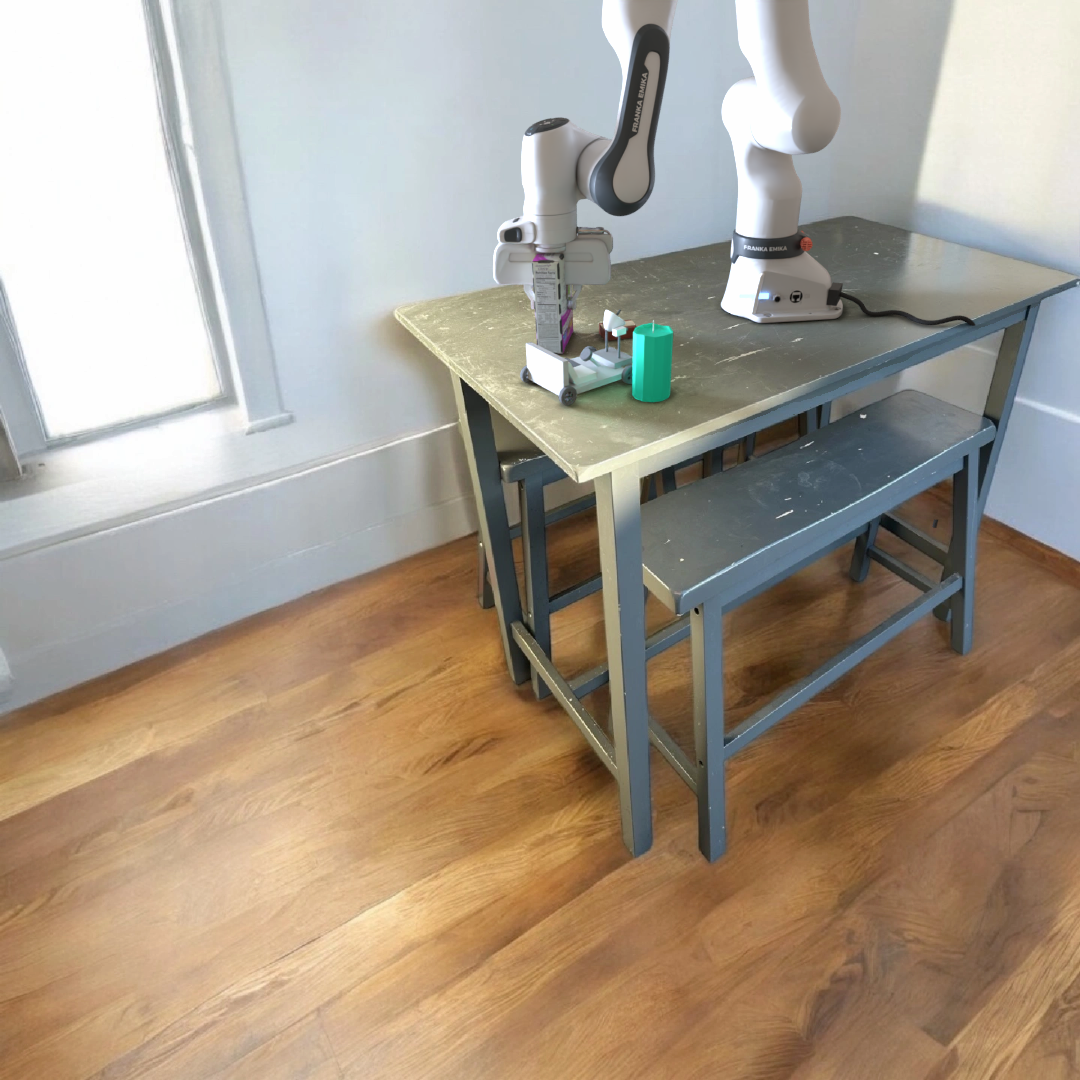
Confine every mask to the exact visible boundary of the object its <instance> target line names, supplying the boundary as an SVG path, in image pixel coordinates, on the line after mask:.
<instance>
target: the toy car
mask: <svg viewBox="0 0 1080 1080" xmlns="http://www.w3.org/2000/svg"><path fill="white" fill-rule="evenodd" d="M621 312H622V309H621V308H619V309H618V310H617V312H616V313H615V312H613V311H611V310H609V309H605V311H604V315H603V323H604V328H605V330H606V341H604V343H605V348H602V349H599V350H597V348H596V347H594V346H592V345H587V346H585V347H584V348H583V350H582V351H581V352H580V354H579V356H576V357H573V358H569V357H562V356H561V355H559V354H554V353H552V352H550V351H548V350H546V349H545V348H543V347H541V346H539V345H537V343H535V342H533V341H528V342H526V343H525V351H526V352H525V353H526V365H525V366H523V367H522V368H521V370H520V373H519V378H520V380H521V382H523V383H525V384H532V383H535V384H537V385H538V386H540V387H542V388H544V389H546V390H548V391H549V392H551V393H553V394H555V395H556V396H558V401H559V403H561V404H562V405H564V406H567V407H568V406H572V404H573V403H574V402H575V401H576V400H577V396H578V395H580V394H582V393H584V392H588V391H590V390H593V389H597V388H600V387H603V386H605V385H608V384H612V383H614V382H617V381H620V380H621V381H622V382H623V383H625V384H627V385H632V369H633V355H630V354H628V353H626V352H623V351H621V342H622V341H621V340H622V339H621V335H624V334H626V331H628V327H623V325H625V324H626V323H625V322H624V321H623V320H624V319H623V318H621V316H619V315H620V313H621ZM608 331H609V332H610V331H613V335H614V336H616V337H617V336H618V340H617V349H616V348H615V347H612V346H609V341H608Z"/></svg>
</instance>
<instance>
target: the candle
mask: <svg viewBox="0 0 1080 1080" xmlns="http://www.w3.org/2000/svg"><path fill="white" fill-rule="evenodd" d="M673 345H674V330H673V329H672V326H670V325H665V324H664V325H663V324H659V323H655V319H653V320H652V322H648V323H643V324H640V325H638V326H637V327H636V328H635V329H634V332H633V338H632V357H633V363H632V365H633V369H632V384H631V396H632V397H633V398H634V399H635V400H637V401H640V402H644V403H658V402H663V401H665V400H668V399H669V398H670V396H671V392H672V391H671V389H672V369H673V367H672V366H673V349H674V348H673V347H674V346H673Z"/></svg>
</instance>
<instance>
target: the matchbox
mask: <svg viewBox="0 0 1080 1080" xmlns="http://www.w3.org/2000/svg"><path fill="white" fill-rule="evenodd" d="M622 320H623V321H624V322H625V323H626V324H625V325H623V327H628V331H626V334H624V335H621V340H625V339H633V332H634V329H635V328H636V327H638V326H637V325H636V323H635V322H634V320H632V319H622ZM598 334H599V336H600V337H601V339H603V341H604V342H605V341H606V330H605V328H604V322H599V323H598ZM609 341H618V336H617V337H616V336H614V335H613V331H610V332H609V331H608V342H609Z"/></svg>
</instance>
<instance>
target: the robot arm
mask: <svg viewBox="0 0 1080 1080" xmlns="http://www.w3.org/2000/svg"><path fill="white" fill-rule="evenodd" d="M678 1H679V0H602V10H601V26H602V30H603V33H604V36H605V37H606V39H607V41H608V43H609V45H610V46H611V47H612V48H613V50H614V52H615V53H616V56H617V58H618V60H619V63H620V67H621V72H622V86H621V92H620V99H619V104H618V110H617V115H616V119H615V120H616V121H615V125H614V132H613V136H612V138H608V137H605V136H602V135H598V134H595V133H592V132H590V131H588V130H585V129H584V128H581V127H580V126H578V125H576V124H574V123H573V122H572V121H571V120H570V119H569V118H567V117H550V118H545V119H542V120H539V121H536V122H535V123H532V124H531V125H530V126H529V127H528V128H527V129H526V130H525V132H524V134H523V138H522V144H521V183H522V187H523V191H524V203H523V215H520V216H517V217H514V218H511V219H508V220H506V221H504V222H503V223H501V225H500V226H499V228H498V230H497V240H498V243H497V245H496V247H495V249H494V252H493V263H492V264H493V265H492V273H493V280H494V281H495V282H496V284H498V285H518V286H519V285H520V286H521V285H523V291H524V294H525V295H526V296H527V298H528V299H529V301H530V308H531V310H535V304H534V290H533V272H532V260H533V259H534V257H535V256H536V254H542V253H562V254H564V271H565V285H572V291H574V293H573V294H572V297H568V299H567V309H570V310H576V309H577V299H578V297H579V295H580V294H581V292H582V290H583V286H586V285H587V286H606V285H607V284H608V283H609V282H610V280H611V278H612V259H611V253H612V252H613V248H614V236H613V234H612V233H611V231H610V230H607V229H605V227H603V226H596V227H590V226H578V204H579V203H578V202H580V201H582V200H588V201H590V202H592V203H594V204H596V206H598V207H599V208H600V209H602V211H603V212H605V213H607V214H608V215H611V216H614V217H626V216H630V215H632V214H635V213H636V212H638V211H639V210H640V209H641V208H643V206H645V204H646V203H647V202H648V200H649V199H650V197H651V195H652V193H653V191H654V187H655V182H656V167H655V165H656V163H655V142H656V136H657V132H658V125H659V120H660V114H661V110H662V104H663V99H664V93H665V88H666V82H667V76H668V71H669V63H670V50H671V35H672V29H673V24H674V20H675V19H674V18H675V14H676V9H677V6H678V3H679V2H678ZM734 2H735V12H736V13H735V14H736V25H737V27H736V28H737V38H738V45H739V48H740V50H741V52H742V54H743V56H745V58H746V59H747V61H748V63H749V65H750V67H751V70H752V73H753V75H752V76H749V77H744V78H742V79H740V80H738V81H736V82H735V83H734V84H733V85H731V86H730V88H729V89H728V90H727V92H726V94H725V96H724V99H723V101H722V106H721V119H722V122H723V125H724V127H725V128H726V131H727V133H728V134H729V137H730V139H731V144H732V149H733V154H734V155H733V156H734V161H735V166H736V167H735V168H736V174H737V186H738V187H737V188H738V190H737V191H738V192H737V206H736V208H737V209H736V222H735V228H734V229H733V232H732V237H731V245H730V261H731V266H730V272H729V276H728V280H727V284H726V288H725V291H724V295H723V298H722V299H721V301H720V307H721V308H722V309H723V310H724V311H725V312H727V313H730V314H731V315H734V316H738V317H741V318H745V319H749V320H751V321H752V322H755V323H759V324H771V323H786V322H787V323H788V322H804V321H818V320H819V321H820V320H835V319H837V318H839V317H841V316H842V314H843V311H844V305H843V301H842V300H841V298H843V299H845V300H848V301H850V302H852V303H854V304H856V305H858V307H859V308H860V310H861V312H862V313H863V314H864V315H866V316H869V317H872V318H873V317H874V318H877V317H885V316H886V317H887V316H898V317H903V318H906V319H908V320H909V321H911V322H913V323H915V324H919V325H923V326H938V325H939V326H940V325H944V324H947V323H950V322H957V321H960V322H961V321H962V322H964V323H966V324H967V325H968V326H971V327H975V326H976V323H975V322H974V321H973V319H971V318H970V317H968V316H966V315H952V316H948V317H944V318H939V319H933V320H928V319H923V318H919V317H916V316H915V315H913V314H911V313H909V312H907V311H903V310H897V309H889V310H888V309H887V310H881V311H871V310H869V309H868V308H867V307H866V305H865V303H864V302H863V301H862V300H861V299H859V298H858V297H855V296H853V295H851V294H848V293H846V292H843V283H842V282H834V281H832V277H831V274H830V273H829V271H828V270H827V268H826V267H825V266H824V265H822V264H821V263H820V262H818V261H817V260H816V259H815V258H814V257H813V256H811V255H810V254H809V253H808V252H809V251H811V249H812V248H813V241H812V239H811V238H810V237H809V236H808V234H806V233H805V232H804V231H803V230H800V229H799V222H800V221H799V220H800V213H801V204H802V197H803V184H802V181H801V179H800V177H799V174H797V171H796V169H795V165H794V161H793V156H799V155H800V156H801V155H809V154H815V153H818V152H820V151H822V150H823V149H826V147H827V146H829V144H830V143H831V142H832V141H833V139H834V138H835V136H836V134H837V132H838V130H839V128H840V124H841V119H842V109H841V104H840V101H839V99H838V98H837V96H836V95H835V93H834V92H833V91H832V90H831V88H830V87H829V85H828V83H827V81H826V79H825V77H824V75H823V72H822V68H821V66H820V62H819V60H818V56H817V53H816V50H815V46H814V42H813V37H812V33H811V23H810V7H809V0H735V1H734ZM938 523H939V519H933V523H932V525H931V526H932V528H933V529H936V528H937V527H938Z"/></svg>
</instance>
